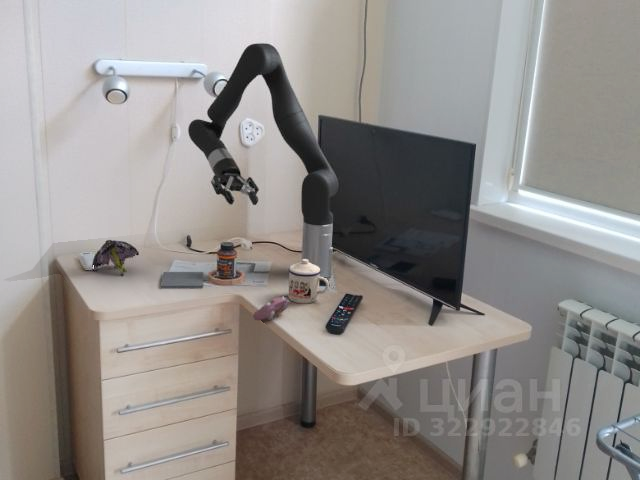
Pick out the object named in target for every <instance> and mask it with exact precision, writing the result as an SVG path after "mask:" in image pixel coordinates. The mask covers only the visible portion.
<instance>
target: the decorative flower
mask: <svg viewBox="0 0 640 480" xmlns="http://www.w3.org/2000/svg"><path fill="white" fill-rule="evenodd" d="M139 255H140V253H139V251H138V250H137V247H135V246H133V245H132V244H130V243H128V242H126V241H121V240H112V239H107V240H105V242H104V243H103V244H102V246H101V247H100V248H99V249H98V250H97V252H96V253H95V255H94V257H93V258H92V259H93V260H92V264H91V268H92V267H93V265H94V271H95V272H97V270H98V267H101V266H109V265H110V262H112V264H113V265H114V266H113V267H114V269H118V268H119V270H120V272H121V273H120V276H121V277H123V276H125V273H127V271H128V270H127V269H126V268H124V266H123V265H125V261H126V259H131V258H133V257H136V256H139Z"/></svg>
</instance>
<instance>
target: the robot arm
mask: <svg viewBox="0 0 640 480" xmlns="http://www.w3.org/2000/svg"><path fill="white" fill-rule="evenodd" d="M285 69H286V68H285V66H284V63H283V61H282V57H281V56H280V53H279V51H278V50H277V48H276V47H275V46H274V45H272V44H270V43H264V42H262V43H261V42H259V43H252V44H250V45H248V46H247V47H245V49H244V51H243V52H242V53H241V55H240V57H239V59H238V61H237V64H236V66H235V67H234V68H233V71H232V73H231V75H230V77H229V78H228V80H227V82H226V83H225V85H224V86H223V89H222V90H221V91H220V93H218V95H217V97H215V99H214V100H213V102H212V103H211V104H210V106H209V107H208V108H207V112H206V115H207V117H208V118H209V120H210V121H206V120H204V119H193V120H192V121H191V122H190V123H189V125H188V130H187V132H188V135H189V138H190V141H192V143H193V144H194V145H195V146H196V147H197V148H198V149H199V150H200V151H201V152H202V153H203V154H204V156H205V159H206V160H207V162H208V164H209V167H210V169H211V171H212V172H213V174H214V175H213V176H212V178H211V181H210V183H211V185H212V187H213V190H214V191H215V192H214V193H215V194H216V195H217V196H219V195H221V196H222V197H224V199H225V200H226V202H227V204H228V205H233V204H234V203H235V198H234V196H233V194H232V192H240V193H241V194H242V195H246V196H248V198H249V200H250V201H251V203H252V205H253V206H256V205H257V204H258V202H259V198H258V196H257V194H258V192H259V190H260V189H259V187H258V185H257V184H256V182H255V181H254V179H253V178H252V177H251V176H248V178H244V177H243V176H242V174H241V169H240V167H239V166H238V164H237V162H236V161H235V159H234V157H233V155H232V154H231V153H230V152H229V150H228V148H227V147H226V146H225V144H224V142H223V141H222V140H221V138H222V135H223V132H224V129H225V127H226V125H227V122H228V121H229V119H230V118H231V117H232V116H233V115H234V113H235V111H236V110H237V109H238V107H239V106H240V104H241V101H242V98H243V94H244V92H245V90H247V88H248V86H249V85H250V83H251V82H252V81H254V80H255V79H256V78H257V77H258V76H261V77H262V78H263V80H264V82H265V84H266V87H267V88H268V91H269V94H270V98H271V106H272V107H271V109H272V116H273V117H272V118H273V120H274V123H275V124H276V127H277V129H278V132H279V133H280V135H281V137H282V138H283V140H284V142H285V143H286V144H287V145H288V146H289V148H290V149H291V150H292V151H293V152H294V153H295V155H297V157H299V158H300V160H301V161H302V163H303V165H304V167H305V170H306V172H307V175H305V177H304V178H303V181H302V184H301V194H300V195H301V197H300V199H301V200H300V201H301V206H300V208H301V215H302V216H303V218H302V219H303V221H302V237H301V238H302V239H301V240H302V242H301V243H302V244H301V259H300V260H301V261H300V262H302V259H307V260H308V261H309V263H311V264H313V265H316V266H318V267H319V268H320V271H321V272H320V276H319V277H326V278H331V277H332V272H333V271H332V269H333V268H332V267H333V251H334V249H333V248H334V247H333V246H332V243H333V225H334V224H333V223H334V213H333V212H331V210H330V205H331V204H330V201H331V200H330V198H332V197H334V196H335V195H336V194H337V192H338V189H339V179H338V177H337V175H336V173H335V171H334V170H333V168H332V166H331V165H330V163H329V161H328V159H327V158H326V156H325V155H324V152H323V151H322V149H321V147H320V145H319V143H318V140H317V137H316V135H315V134H314V132H313V129H312V127H311V124H310V123H309V121H308V118H307V115H306V114H305V111H304V109H303V108H302V106H301V104H300V101H299V99H298V97H297V95H296V92H295V91H294V89H293V87H292V84H291V83H290V79H289V78H288V77H289V76H288V75H287V72H286V70H285ZM223 187H224V188H223Z"/></svg>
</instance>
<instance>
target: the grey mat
mask: <svg viewBox="0 0 640 480" xmlns="http://www.w3.org/2000/svg"><path fill="white" fill-rule="evenodd" d="M203 285H204V271H163V274H162V278H161V282H160V289H203V288H204V286H203Z"/></svg>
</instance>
